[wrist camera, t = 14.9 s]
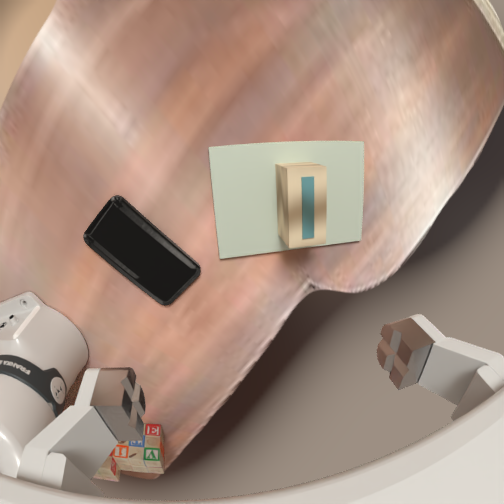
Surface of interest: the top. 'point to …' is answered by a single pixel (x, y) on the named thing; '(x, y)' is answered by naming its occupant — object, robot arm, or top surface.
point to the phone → (141, 251)
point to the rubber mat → (265, 197)
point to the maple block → (301, 203)
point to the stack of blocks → (135, 455)
